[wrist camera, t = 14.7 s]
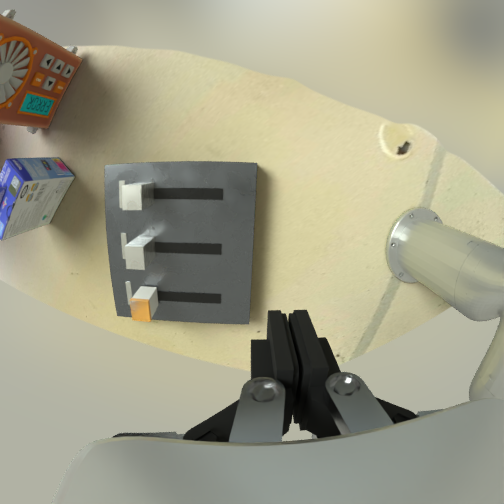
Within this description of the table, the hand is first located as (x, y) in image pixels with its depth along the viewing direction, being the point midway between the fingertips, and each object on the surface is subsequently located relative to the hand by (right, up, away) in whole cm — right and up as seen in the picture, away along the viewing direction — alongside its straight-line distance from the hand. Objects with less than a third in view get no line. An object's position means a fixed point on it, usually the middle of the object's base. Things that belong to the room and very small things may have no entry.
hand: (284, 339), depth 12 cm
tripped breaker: (-16, -2, +25) cm, 29 cm away
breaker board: (-11, +5, +26) cm, 29 cm away
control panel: (-33, +30, +18) cm, 48 cm away
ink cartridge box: (-33, +14, +23) cm, 42 cm away
